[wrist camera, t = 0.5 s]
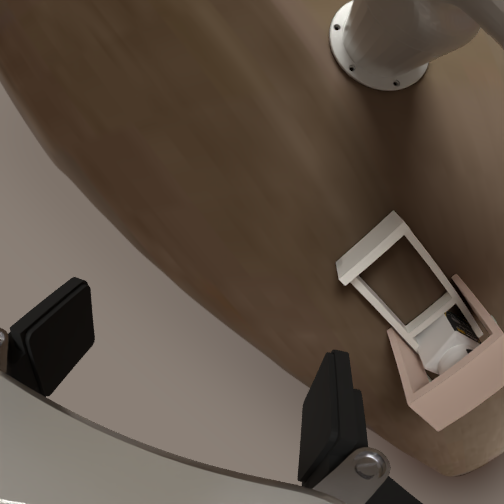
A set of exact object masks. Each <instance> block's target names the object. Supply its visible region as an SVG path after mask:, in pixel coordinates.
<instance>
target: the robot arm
mask: <svg viewBox="0 0 504 504" xmlns="http://www.w3.org/2000/svg"><path fill="white" fill-rule="evenodd" d="M334 28H338V30H335V29H334ZM480 28H482V29H483V30H484V31H485V32H486V33H487V34H488V35H490V36H491V37H492V38H493V39H494V40H495V41H496V42H497V43H498V44H499V45H500V46H501V47H502V48H503V49H504V0H353V1H350V2H348V3H346V4H345V5H343V6H342V7H341V8H340V9H339V10H338V11H337V12H336V14H335V16H334V17H333V19H332V22H331V25H330V30H329V43H330V47H331V51H332V53H333V55H334V57H335V59H336V61H337V62H338V64H339V65H340V67H341V68H342V69H343V70H344V71H345V72H346V73H347V74H348V75H349V76H350V77H352V78H353V79H354V80H356V81H357V82H359V83H361V84H363V85H365V86H367V87H370V88H373V89H376V90H383V91H395V90H400V89H404V88H406V87H409V86H411V85H412V84H414V83H416V82H417V81H418V80H419V79H420V78H421V77H422V76H423V74H424V73H425V71H426V69H427V67H428V64H429V62H431V61H433V60H435V59H437V58H439V57H441V56H443V55H446V54H448V53H450V52H452V51H454V50H456V49H458V48H461V47H463V46H464V45H466V44H467V43H469V42H470V41H471V40H472V39H473V38H474V37H475V36H476V35H477V33H478V31H479V30H480ZM349 68H353V71H350V70H349ZM394 82H395V83H396V86H394V84H393V83H394ZM90 291H91V290H90V287H89V286H88V284H87V282H86V281H84V280H82V279H79V278H76V277H73V278H71V279H70V280H69V281H67V282H66V283H65V284H64V285H62V286H61V287H60V288H58V289H57V290H56V291H54V292H53V293H52V294H51V295H49V296H48V297H47V298H46V299H44V300H43V301H42V302H41V303H39V304H38V305H37V306H36V307H34V308H33V309H32V310H31V311H29V312H28V313H27V314H26V315H24V316H23V317H22V318H21V319H20V320H19V321H17V322H16V323H15V324H14V325H12V326H11V327H10V331H11V332H10V333H9V334H7V332H6V331H5V330H4V329H1V328H0V504H422V503H421V502H420V501H418V500H417V499H416V498H415V497H413V496H412V495H411V494H409V492H407V491H406V490H405V489H403V488H402V487H401V486H400V485H399V484H397V483H396V482H395V481H393V479H391V478H390V477H389V476H388V475H389V473H390V463H389V461H388V459H387V457H386V456H385V455H384V454H383V453H382V452H380V451H379V450H376V449H374V448H370V447H368V441H367V432H366V423H365V415H364V407H363V400H362V394H361V391H360V390H357V389H353V383H352V375H351V367H350V360H349V354H348V352H343V351H338V350H332V352H331V353H328V352H327V353H326V354H325V357H324V359H323V361H322V363H321V366H320V368H319V370H318V372H317V375H316V377H315V379H314V381H313V383H312V386H311V388H310V390H309V392H308V394H307V397H306V398H305V401H304V404H303V411H302V427H301V441H300V455H299V468H298V481H301V482H302V486H298V485H294V484H290V483H285V482H280V481H276V480H271V479H265V478H261V477H256V476H252V475H247V474H243V473H238V472H235V471H231V470H227V469H223V468H219V467H215V466H211V465H208V464H204V463H201V462H197V461H194V460H191V459H187V458H184V457H181V456H178V455H175V454H172V453H169V452H166V451H163V450H160V449H158V448H155V447H152V446H149V445H146V444H144V443H141V442H139V441H136V440H134V439H131V438H128V437H126V436H124V435H121V434H119V433H117V432H114V431H112V430H110V429H108V428H105V427H103V426H101V425H99V424H96V423H94V422H92V421H90V420H88V419H86V418H84V417H82V416H80V415H78V414H76V413H74V412H72V411H70V410H68V409H66V408H64V407H62V406H61V405H58V404H57V403H55V402H53V401H51V400H50V399H47V398H46V396H50V395H51V394H52V393H53V391H54V390H55V389H56V388H57V386H58V385H59V384H60V383H61V382H62V381H63V379H64V378H65V377H66V376H67V374H68V373H69V372H70V371H71V370H72V369H73V367H74V366H75V365H76V364H77V363H78V362H79V360H80V359H81V358H82V357H83V356H84V355H85V353H86V352H87V351H88V350H89V349H90V347H92V345H93V343H94V340H95V336H94V326H93V316H92V304H91V292H90Z"/></svg>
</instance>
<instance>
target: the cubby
mask: <svg viewBox="0 0 504 504" xmlns="http://www.w3.org/2000/svg"><path fill="white" fill-rule="evenodd" d="M451 278H452V280H453V281H454V282H455V284H456V285H457V287H458V288H459V290H460V291H461V293H462V294H463V296H464V297H465V299H466V300H467V302H468V304H469V305H470V307H471V308H472V310H473V311H474V313H475V314H476V316H477V317H478V319H479V320H480V321H481V323H482V324H483V326H484V327H485V329H486V330H487V332H488V333H489V335H490V336H489V337H488V338H487V339H486V340H485V341H484V342H482V343H481V344H480V345H479V346H478V347H476V348H475V349H474V350H473V351H471V352H470V353H469V354H468V355H466V356H465V357H464V358H462V359H461V360H460V361H459V362H457V363H456V364H455V365H453V366H452V367H451V368H449V369H448V370H447V371H445V372H444V373H442V374H441V375H440V376H438V377H437V378H435V379H434V380H432V381H431V382H429V380H428V377H427V374H426V371H425V369H424V366H423V364H422V361H421V358H420V356H419V355H418V354H417V353H416V352H415V351H414V350H413V349H412V348H411V347H410V346H409V344H408V343H407V342H406V341H405V340H404V339H403V338H402V337H401V336H400V335H399V334H398V333H397V332H396V331H395V329H394V328H393V327H391V328H389V329H388V330H387V333H388V336H389V340H390V343H391V346H392V349H393V353H394V356H395V360H396V363H397V366H398V370H399V374H400V377H401V381H402V384H403V388H404V392H405V396H406V400H407V404H408V406H409V407H410V408H412V409H413V410H414V411H415V412H416V413H417V414H418V415H420V416H421V417H422V418H423V419H424V420H425V421H426V422H428V423H429V424H430V425H431V426H432V427H433V428H435V429H436V430H437V431H440V430H441V429H443V428H445V427H446V426H448V425H450V424H451V423H453V422H454V421H456V420H457V419H459V418H460V417H462V416H463V415H465V414H466V413H468V412H469V411H471V410H472V409H474V408H475V407H477V406H478V405H479V404H481V403H482V402H483V401H485V400H486V399H488V398H489V397H490V396H492V395H493V394H494V393H496V392H497V391H498V390H499V389H501V388H502V387H503V386H504V333H503V332H502V330H501V329H500V328H499V326H498V325H497V324H496V322H495V321H494V320H493V318H492V317H491V316H490V314H489V313H488V312H487V310H486V309H485V308H484V307H483V305H482V304H481V303H480V301H479V300H478V299H477V298H476V296H475V295H474V294H473V293H472V291H471V290H470V289H469V288H468V287H467V285H466V284H465V283H464V282H463V281H462V279H461V278H460V277H459V276H458V275H457V274H455V275H453V276H452V277H451Z"/></svg>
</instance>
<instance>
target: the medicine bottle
mask: <svg viewBox="0 0 504 504" xmlns="http://www.w3.org/2000/svg"><path fill="white" fill-rule="evenodd" d="M416 339H417V341H418V344H419V346H418V348H417V351H418V353H419V356H420V358H421V361H422V364H423V366H424V368H425V369H426V370H429V371H431V372H433V373H436V374H438V375H441V374H442V373H444V372H445V371H447V370H448V369H449V368H451V367H452V366H453V365H455V364H456V363H457V362H459V361H460V360H461V359H462V358H464V357H465V356H466V355H468V354H469V353H470V352H471V351H473V350H474V349H475V348H476V347H478V346H479V345H480V344H481V342H480V340H479V339H478V337H477V336H476V334H475V332H474V331H473V329H472V328H471V326H470V325H469V323H468V322H467V321H466V320H464V319H462V318H461V317H459V316H457V315H455V314H454V313H452V312H450V311H449V310H447V311H446V312H445V313H444V314H443V315H441V316H440V317H439V318H438V319H437V320H435V321H434V322H433V323H432V324H430V325H429V326H428V327H427V328H425V329H424V330H423V331H421V332H420V333H419V334H418V335H417V336H416Z"/></svg>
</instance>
